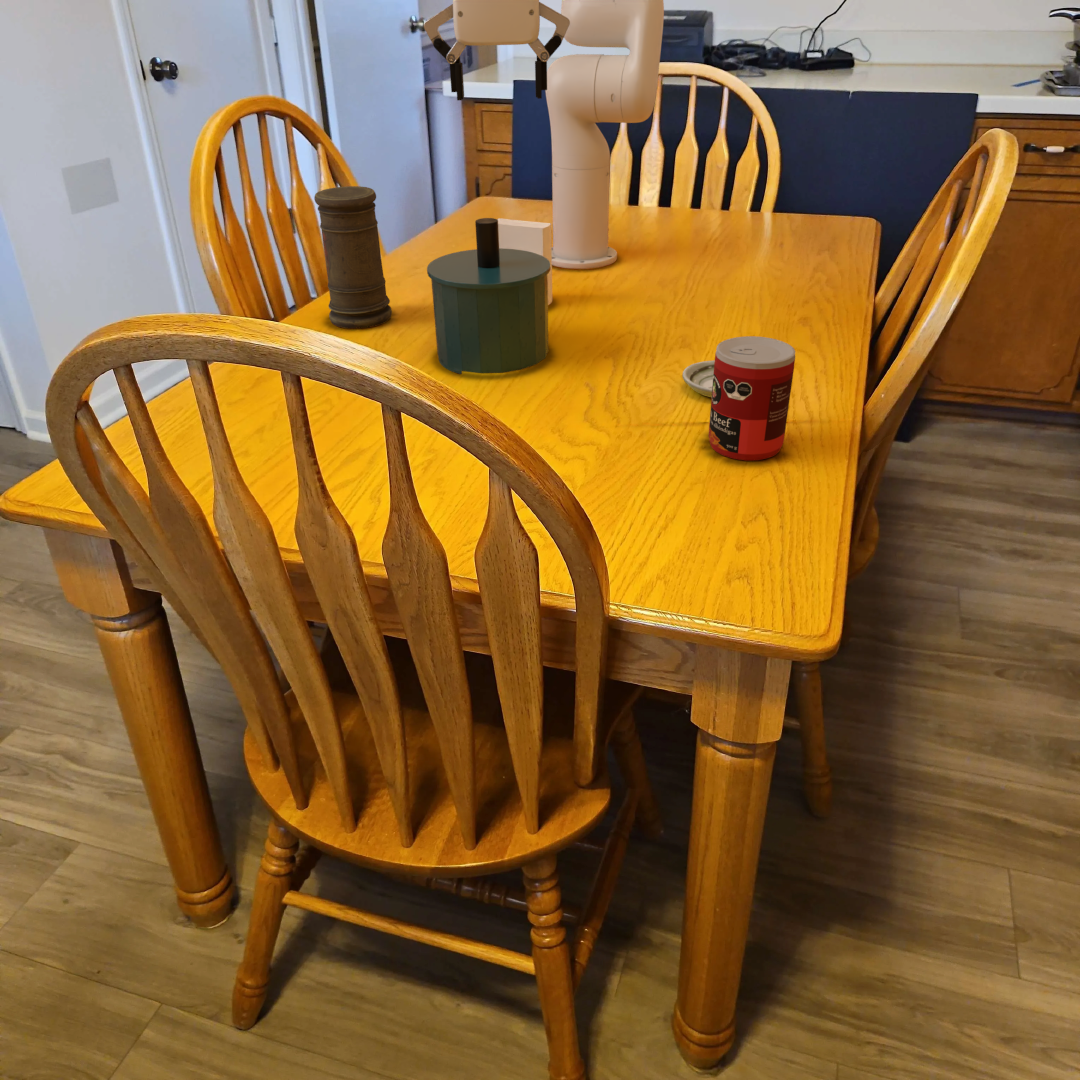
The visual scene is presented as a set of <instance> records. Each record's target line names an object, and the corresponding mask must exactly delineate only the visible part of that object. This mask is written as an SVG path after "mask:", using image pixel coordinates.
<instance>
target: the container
mask: <svg viewBox="0 0 1080 1080" xmlns="http://www.w3.org/2000/svg"><path fill="white" fill-rule="evenodd" d="M313 197H314V203H315V204H317V206H318V207H317V211H318V213H319V218H320V225H319V228H320V230H321V237H322V246H323V252H324V259H325V260H324V261H325V267H326V275H327V288H328V293H329V303H328V309H329V310H330V312H329V315H328V317H329V321H330V323H331V324H332V325H334V326H335V327H338V328H342V329H367V328H373V327H377V326H380V325H382V324H385V323H387V322H388V321H389V320H390V319H391V318H392V314H393V310H392V307H391V306H390V305H389V304H390V303H391V299H390V298H389V297H388V295H387V289H386V278H385V276H384V269H383V262H382V253H381V244H380V237H379V229H378V222H379V221H378V220H377V217H376V206H377V205H376V203H375V201H376V199H377V194H376V191H375V190H374V188H371V187H367V186H359V185H355V186H354V185H349V186H346V185H345V186H338V187H337V186H335V187H330V188H325V189H322V190H319V191H317V192H315V194H314V196H313Z"/></svg>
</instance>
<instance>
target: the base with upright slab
mask: <svg viewBox="0 0 1080 1080" xmlns="http://www.w3.org/2000/svg"><path fill="white" fill-rule="evenodd" d="M496 219H497V220H498V233H499V248H500V249H516V250H523V251H528V252H533V253H536V254H539V255H542V256H543V257H545V258H547V259H548V260H549V262H550V272H549V273H548V274H547V280H548V306H549V305H551V304H552V303H553V265H552V247H553V246H552V222H541V221H531V220H520V219H512V218H511V219H509V218H496Z"/></svg>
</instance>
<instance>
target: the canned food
mask: <svg viewBox="0 0 1080 1080" xmlns="http://www.w3.org/2000/svg"><path fill="white" fill-rule="evenodd" d="M714 360H715V362H714V374H713V386H712V398H710V399H711V401H710V412H709V422H708V423H709V425H708V426H709V427H708V442H709V445H710V447H711V449H712V450H713V451H715V452H716V453H718V454H719V455H721V456H723V457H725V458H729V459H733V460H738V461H748V462H749V461H763V460H768V459H770V458H772V457H774V456H776V455H778V453H779V452H780V451H781V449H782V447H783V445H784V443H785V442H784V441H785V434H786V427H787V420H788V413H789V406H790V399H791V392H792V387H793V379H794V372H795V362H796V350H795V348H794V347H793V346H792V345H791V344H789V343H787V342H785V341H782V340H779V339H776V338H770V337H765V336H755V335H754V336H751V335H750V336H747V335H746V336H736V337H731V338H728V339H725V340H722V341H720V342H719V343H718V344H717V346H716V351H715V355H714Z"/></svg>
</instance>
